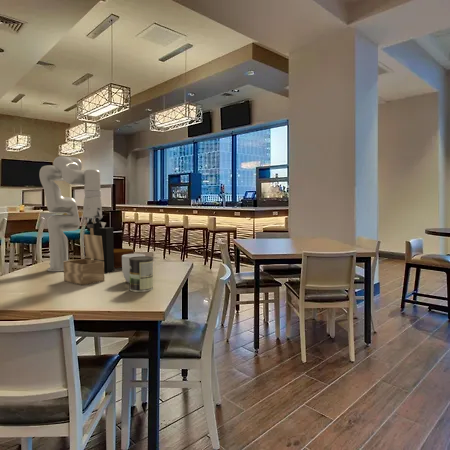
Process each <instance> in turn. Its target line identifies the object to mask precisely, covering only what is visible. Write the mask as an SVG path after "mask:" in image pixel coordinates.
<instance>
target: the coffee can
mask: <svg viewBox="0 0 450 450" xmlns="http://www.w3.org/2000/svg"><path fill="white" fill-rule="evenodd" d="M153 260H154V257H153V256H146V255H145V256H138V257H131V258H129V263H130V264H129V265H130V283H129V291H130V292H134V293H144V292H145V293H146V292H149V291H153V290H154V284H153V283H154V282H153V281H154V278H153V277H154V272H153V270H154V267H153V265H154V264H153V262H154V261H153Z"/></svg>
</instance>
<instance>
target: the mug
mask: <svg viewBox="0 0 450 450" xmlns="http://www.w3.org/2000/svg"><path fill="white" fill-rule="evenodd" d="M138 256H146V254H145V253H144V254H143V253H134V254H125V255H122V268H121V270H122V276H123V278H124V280H125V281H126V283H128V284H130V265H129V264H130V263H129V258H131V257H138Z"/></svg>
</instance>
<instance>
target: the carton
mask: <svg viewBox="0 0 450 450" xmlns="http://www.w3.org/2000/svg"><path fill="white" fill-rule="evenodd" d="M63 281H64V282H67V283H70V284H74V285H79V286H86V285H87V286H88V285H91V284H96V283H101V282H102V283H103V282H105V273H104V261H98V260H94V259H92V258H80V259H72V260H68V261H64V271H63Z"/></svg>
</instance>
